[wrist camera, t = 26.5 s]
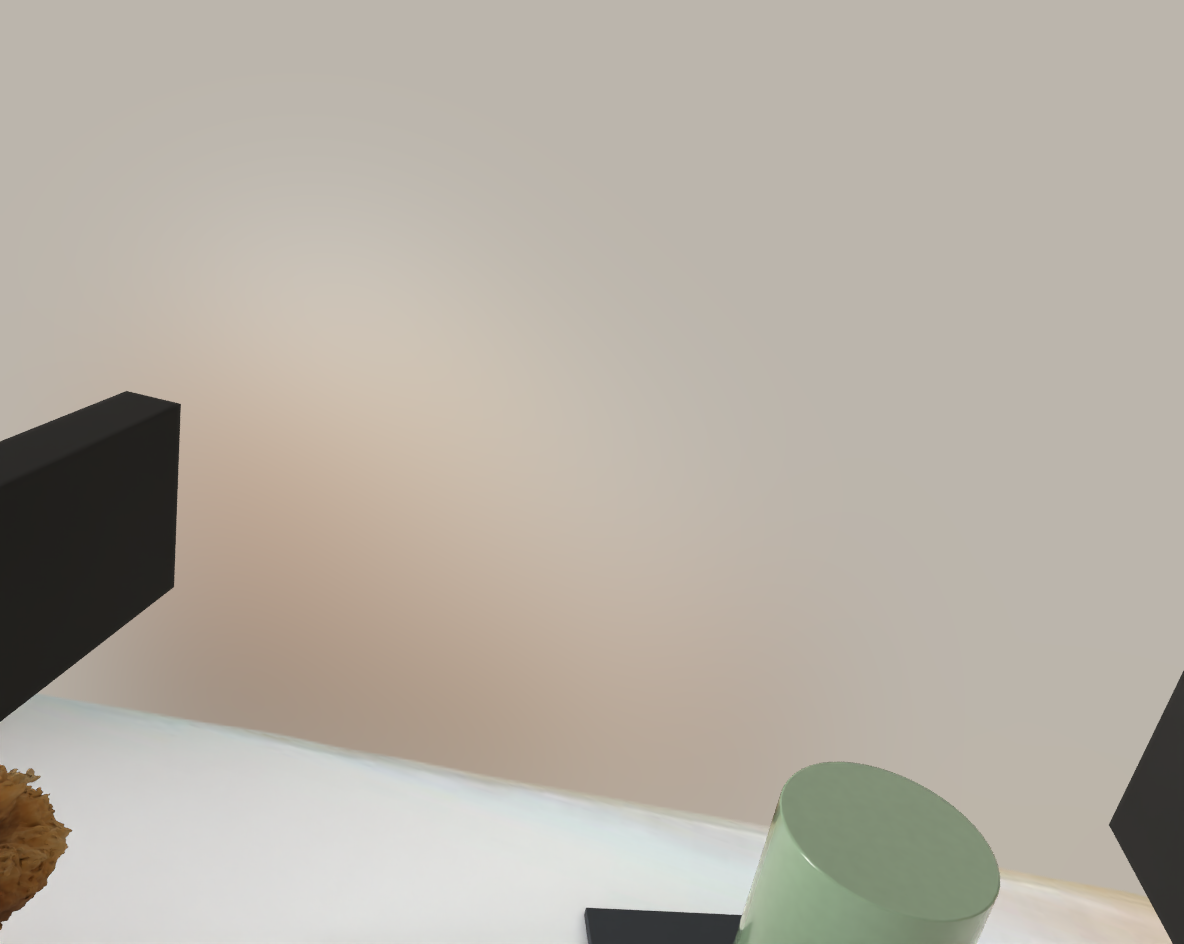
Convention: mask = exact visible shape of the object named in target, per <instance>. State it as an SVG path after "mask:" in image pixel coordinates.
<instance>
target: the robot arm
mask: <svg viewBox="0 0 1184 944" xmlns="http://www.w3.org/2000/svg"><path fill="white" fill-rule="evenodd" d="M180 408H181V404H178V403H174V402H170V401H166V400H162V399H157V398H153V397H149V396H144V395H141V394H137V393H132V392H128V391H126V392H123V393H121V394H118V395H116V396H113V397H111V398H108V399H106V400H103V401H100V402H98V403H96V404H93V405H90V406H88V407H85V408H83V409H80V410H78V411H75V412H73V413H71V414H68V415H65V416H63V417H60V418H58V419H55V420H53V421H50V422H48V423H45V424H43V425H40V426H38V427H36V428H33V429H30V430H28V431H25V432H23V433H20V434H18V435H15V436H13V437H10V438H8V439H5V440H3V441H1V442H0V721H2V720H3V719H4V718H6V717H7V716H8V715H9V714H11V713H12V712H13V711H15V710H16V709H17V708H18V707H20V706H21V705H22V704H24V703H25V702H26V701H27V700H29V699H30V698H31V697H33V696H34V695H35V694H37V693H38V692H39V691H40V690H42V689H43V688H44V687H46V686H47V685H48V684H49V683H51V682H52V681H53V680H55V679H56V678H57V677H58V676H60V675H61V674H62V673H64V672H65V671H66V670H67V669H68V668H70V667H71V666H73V665H74V664H75V663H76V662H78V661H79V660H80V659H82V658H83V657H84V656H85V655H87V654H88V653H89V652H91V651H92V650H93V649H94V648H96V647H97V646H98V645H100V644H101V643H102V642H104V641H105V640H106V639H107V638H108V637H110V636H111V635H113V634H114V633H115V632H116V631H118V630H119V629H120V628H121V627H123V626H124V625H125V624H127V623H128V622H129V621H130V620H132V619H133V618H134V617H136V616H137V615H138V614H139V613H141V612H142V611H143V610H145V609H146V608H147V607H149V606H150V605H151V604H152V603H154V602H155V601H156V600H158V599H159V598H160V597H161V596H163V595H164V594H165V593H167V592H168V591H169V590H170V589H172V588H173V587H174V570H175V568H174V567H175V543H176V515H177V489H178V462H179V435H180ZM1109 826H1110V828H1111V829H1112V831H1113V833H1114V835H1115V837H1116V838H1117V841H1118V842H1119V844H1120V846H1121V848H1122V850H1123V851H1124V853H1125V855H1126V857H1127V859H1128V861H1129V863H1130V865H1131V867H1132V868H1133V870H1134V872H1135V874H1136V876H1137V878H1138V880H1139V881H1140V883H1141V885H1142V887H1143V889H1144V891H1145V893H1146V895H1147V896H1148V898H1149V900H1150V902H1151V904H1152V906H1153V908H1154V909H1155V911H1156V913H1157V915H1158V917H1159V919H1160V921H1161V922H1162V924H1163V926H1164V928H1165V930H1166V932H1167V934H1168V935H1169V937H1170V939H1171V941H1172V943H1173V944H1184V671H1183V673H1182V675H1181V677H1180V679H1179V681H1178V684H1177V686H1176V688H1175V690H1174V692H1173V694H1172V696H1171V698H1170V700H1169V702H1168V704H1167V706H1166V708H1165V710H1164V713H1163V715H1162V716H1161V719H1160V721H1159V723H1158V725H1157V727H1156V729H1155V731H1154V733H1153V735H1152V737H1151V739H1150V741H1149V743H1148V745H1147V747H1146V749H1145V751H1144V754H1143V756H1142V758H1141V760H1140V762H1139V764H1138V766H1137V768H1136V770H1135V772H1134V774H1133V776H1132V778H1131V781H1130V782H1129V784H1128V787H1127V789H1126V791H1125V793H1124V795H1123V797H1122V799H1121V801H1120V803H1119V805H1118V807H1117V809H1116V811H1115V813H1114V815H1113V817H1112V820H1111V822H1110V824H1109Z"/></svg>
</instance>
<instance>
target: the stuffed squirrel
mask: <svg viewBox="0 0 1184 944" xmlns="http://www.w3.org/2000/svg"><path fill="white" fill-rule="evenodd" d="M17 770H18V769H13V770H11V771H10V772H9V773H7V771H6V768H5V766H4V765H0V930H1V929H2V925H3V924H1V922H2V921H7V920H8V919H9V917H10V916H11V914H12V912H13V911H18V910H20V909H21V908H22V907H24V906H25V904H26V902H28V901H29V900H30V899H31V898H33V897H34V895H35V894H36V892H38V891H40V890H41V889H43V887H44V886H46V885H47V878H48V876H49V875H50V874H51V873H52V872H53V871H54V869H55V864H56V862H57V859H58V858H59V857H60V855H62V854H64V853H65V849H67V848H68V846H67V844H66V839H65V838H66V837H67V836H68V835H69V832H72V830H71V829H69V828H65V827H64V824H62V823H60V822H58V821H56V820H55V818H54V815H53V813H54V812H55V810H53V809H52V808H53V806H52V804H49V798H48V795H50V794H44V795H41V794H42V793H43V791H42V790H41V787H39V788H37V789H36V790H37V791H35V790H34V789H31V788H32V786H27V783H30V782H34V781H36V780H37V779H39V778H40V777H41V776H35V775H34V770H33V769H32V768H30V769H28V770H27V772H26V774H22V773H20V772H18V773H17V772H16V771H17Z"/></svg>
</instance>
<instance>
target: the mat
mask: <svg viewBox="0 0 1184 944" xmlns="http://www.w3.org/2000/svg"><path fill="white" fill-rule="evenodd" d="M584 916H585V923H586V930H587V937H588V944H733V942H734V939H735V936H736V933H737V929H738V926H739V923H740V920H741V917H742V915H726V914H705V913H684V912H663V911H642V910H621V909H601V908H586V910H585V914H584Z"/></svg>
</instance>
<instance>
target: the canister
mask: <svg viewBox="0 0 1184 944" xmlns="http://www.w3.org/2000/svg"><path fill="white" fill-rule="evenodd" d="M999 889H1000V873H999V868H998V864H997V861H996V859H995V856H994V854H993V852H992V850H991V848H990V846H989V845H988V843H987V842H986V841H985V839H984V837H983V836H982V834H981V833H980V832H979V831H978V830H977V829H976V827H975V826H974V825H973V824H972V823H971V822H970V821H969V820H968V819H967V818H966V817H965V816H964V815H963V814H962V813H961V812H959V811H958V810H957V809H956V808H955V807H954V806H952V805H951V804H950V803H948V802H947V801H946V800H944V799H943V798H941V797H940V796H938V795H937V794H935V793H934V792H932V791H931V790H929V789H927V788H925V787H923V786H921V785H920V784H918V783H916V782H914V781H912V780H910V779H907V778H905V777H903V776H900V775H898V774H895V773H893V772H890V771H887V770H884V769H881V768H877V767H872V766H869V765H864V764H858V763H851V762H825V763H819V764H815V765H811V766H808V767H806V768H803V769H801V770H800V771H798V772H797V773H795V774H794V775H793V776H792V777H791V778H790V779H789V780H788V781H787V782H786V784H785V785H784V787H783V789H782V792H781V794H780V798H779V801H778V804H777V807H776V810H775V813H774V816H773V820H772V823H771V826H770V829H769V832H768V835H767V838H766V842H765V845H764V848H763V851H762V854H761V857H760V860H759V864H758V867H757V870H756V873H755V876H754V879H753V882H752V886H751V889H750V892H749V895H748V898H747V901H746V904H745V908H744V911H743V914H742V917H741V920H740V923H739V926H738V929H737V933H736V936H735V939H734V942H733V944H977V942H978V940H979V938H980V935H981V933H982V931H983V929H984V926H985V924H986V922H987V919H988V917H989V915H990V913H991V910H992V908H993V906H994V903H995V901H996V899H997V897H998V893H999Z"/></svg>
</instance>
